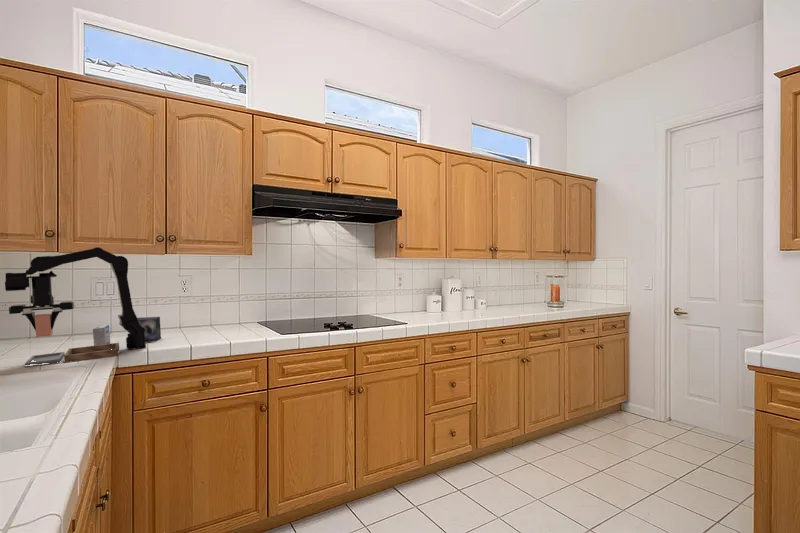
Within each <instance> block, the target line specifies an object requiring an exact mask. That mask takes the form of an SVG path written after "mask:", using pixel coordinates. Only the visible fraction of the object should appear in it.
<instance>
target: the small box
mask: <svg viewBox="0 0 800 533" xmlns="http://www.w3.org/2000/svg"><path fill="white" fill-rule="evenodd" d="M137 319H138V321H139V325H141V326H142V327H143V328H145V343H146V342H157V341H160V339H162V333H161V331H162V330H161V316H149V317H148V316H147V317H137Z"/></svg>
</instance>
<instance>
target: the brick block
mask: <svg viewBox="0 0 800 533" xmlns="http://www.w3.org/2000/svg"><path fill="white" fill-rule="evenodd" d="M51 315H52V313H41V314H35V327H36V331H35V337H36V338H41V337H42V338H43V337H51V336H52V335H53V334H54V333H53V332H54V331H53V329H54V328H53V329H51Z"/></svg>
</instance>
